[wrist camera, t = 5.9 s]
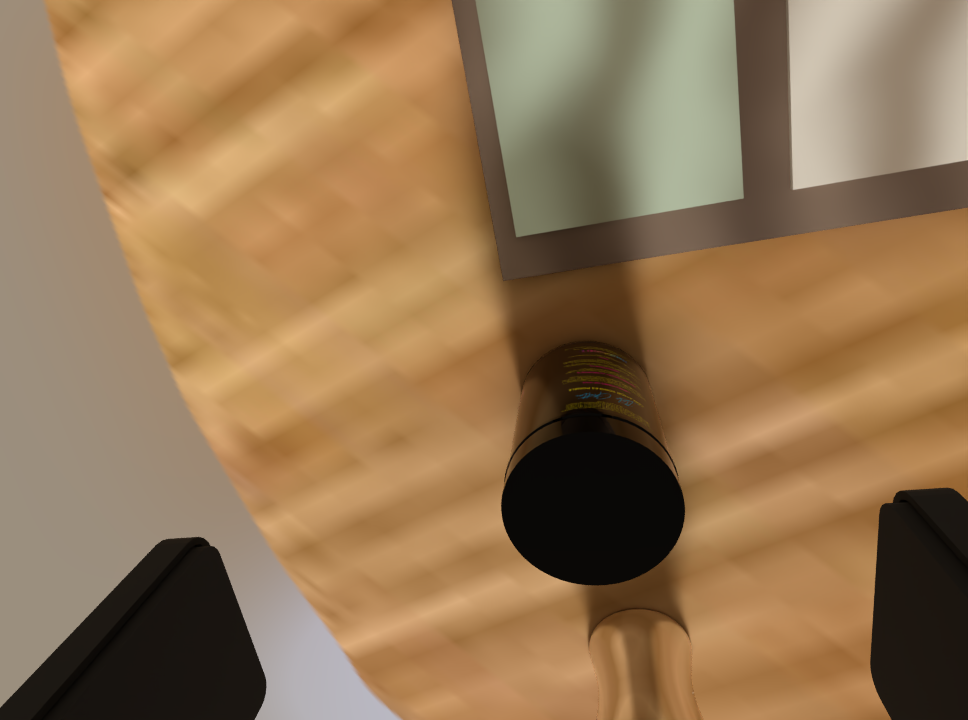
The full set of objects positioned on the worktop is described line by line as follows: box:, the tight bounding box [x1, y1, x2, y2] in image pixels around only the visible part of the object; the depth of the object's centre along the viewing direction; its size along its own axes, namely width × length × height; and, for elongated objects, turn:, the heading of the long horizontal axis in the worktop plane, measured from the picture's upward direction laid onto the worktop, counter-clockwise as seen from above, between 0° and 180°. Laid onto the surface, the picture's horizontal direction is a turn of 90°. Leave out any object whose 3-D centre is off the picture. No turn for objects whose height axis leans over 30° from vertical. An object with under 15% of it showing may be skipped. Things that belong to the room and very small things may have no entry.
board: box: [452, 0, 968, 281], centre depth 26 cm, size 24×14×1 cm, turn 101°
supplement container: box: [501, 341, 685, 585], centre depth 28 cm, size 7×7×10 cm
